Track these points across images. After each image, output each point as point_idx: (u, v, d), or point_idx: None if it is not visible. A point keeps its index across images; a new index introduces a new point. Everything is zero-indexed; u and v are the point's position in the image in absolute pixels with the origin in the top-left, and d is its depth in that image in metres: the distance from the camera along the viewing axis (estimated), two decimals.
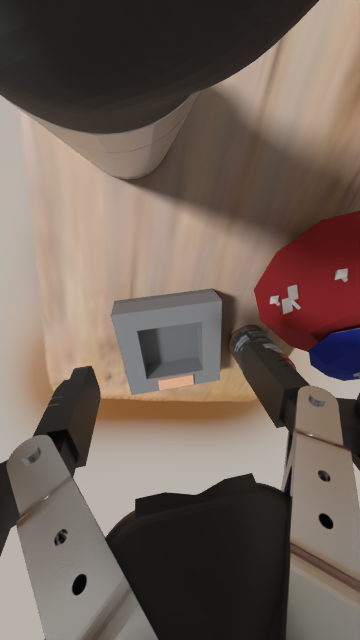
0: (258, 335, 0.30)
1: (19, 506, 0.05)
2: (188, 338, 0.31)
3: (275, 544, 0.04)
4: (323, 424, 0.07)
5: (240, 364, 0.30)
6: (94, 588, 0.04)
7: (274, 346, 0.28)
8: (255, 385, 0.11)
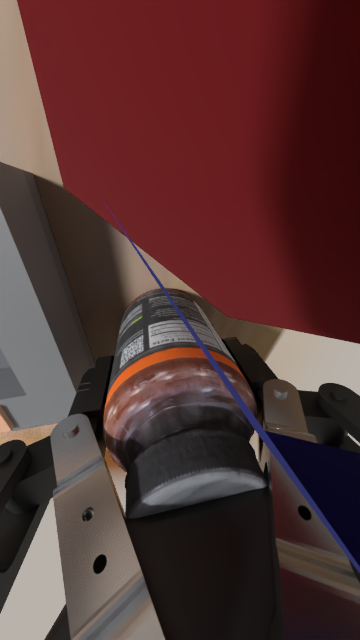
0: (166, 303, 0.12)
1: (57, 475, 0.06)
2: None
3: (262, 548, 0.04)
4: (289, 415, 0.07)
5: None
6: (94, 588, 0.04)
7: (196, 327, 0.10)
8: None
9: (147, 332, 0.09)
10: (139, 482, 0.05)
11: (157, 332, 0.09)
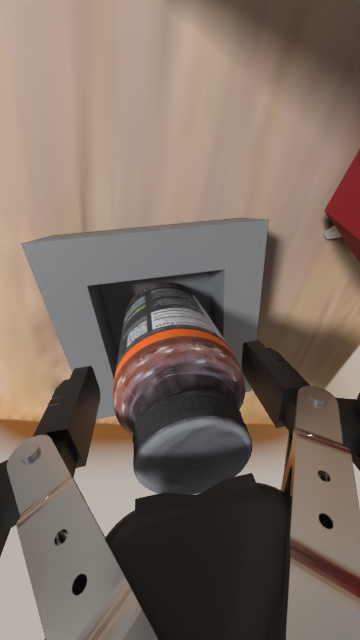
0: (167, 294, 0.13)
1: (19, 505, 0.05)
2: None
3: (275, 544, 0.04)
4: (323, 424, 0.07)
5: None
6: (94, 588, 0.04)
7: (193, 314, 0.11)
8: (255, 385, 0.11)
9: (150, 318, 0.10)
10: (145, 430, 0.07)
11: (159, 317, 0.10)
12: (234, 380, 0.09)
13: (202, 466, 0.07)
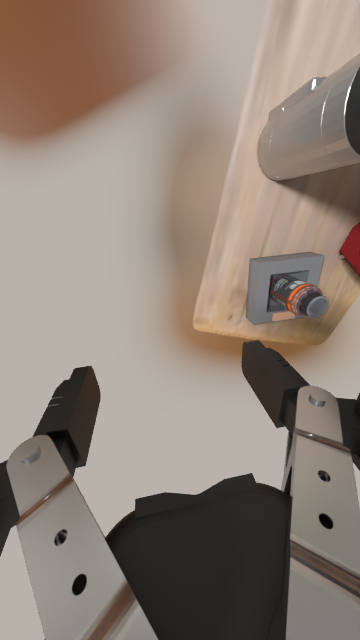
0: (291, 277, 0.42)
1: (19, 506, 0.05)
2: None
3: (275, 544, 0.04)
4: (323, 424, 0.07)
5: (279, 298, 0.41)
6: (94, 588, 0.04)
7: None
8: (255, 385, 0.11)
9: (295, 282, 0.39)
10: (309, 300, 0.35)
11: (298, 282, 0.39)
12: (321, 295, 0.37)
13: (319, 308, 0.36)
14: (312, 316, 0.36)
